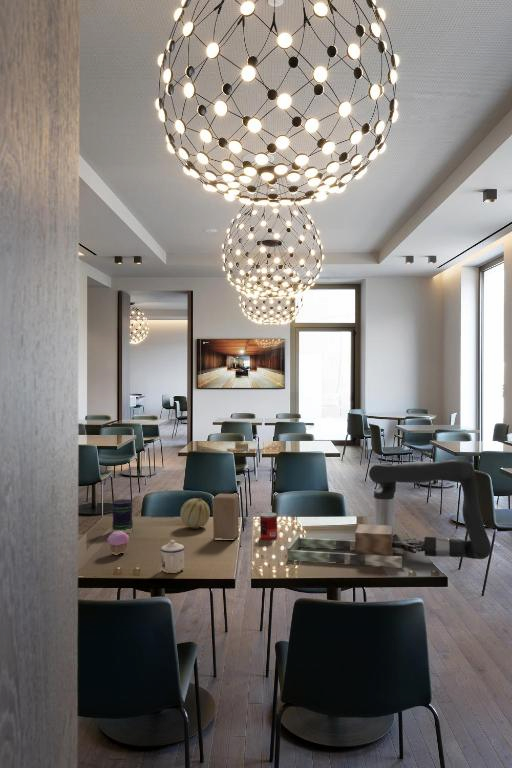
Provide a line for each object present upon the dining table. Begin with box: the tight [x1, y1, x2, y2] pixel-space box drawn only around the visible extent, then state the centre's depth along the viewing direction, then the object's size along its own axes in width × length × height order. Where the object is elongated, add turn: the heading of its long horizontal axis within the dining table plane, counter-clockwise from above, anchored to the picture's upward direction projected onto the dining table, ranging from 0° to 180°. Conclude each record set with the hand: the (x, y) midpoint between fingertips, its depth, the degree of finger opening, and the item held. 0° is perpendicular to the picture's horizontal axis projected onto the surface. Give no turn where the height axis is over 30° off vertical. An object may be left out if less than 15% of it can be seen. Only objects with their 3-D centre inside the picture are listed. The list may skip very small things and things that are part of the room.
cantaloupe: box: [180, 497, 211, 528], centre depth 299 cm, size 15×15×15 cm
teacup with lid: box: [160, 539, 185, 570], centre depth 232 cm, size 12×9×12 cm
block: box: [212, 493, 240, 540], centre depth 278 cm, size 10×10×20 cm
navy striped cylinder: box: [111, 499, 134, 530], centre depth 294 cm, size 10×10×15 cm
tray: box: [286, 534, 404, 569], centre depth 247 cm, size 45×20×5 cm, turn 75°
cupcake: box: [107, 531, 130, 553], centre depth 256 cm, size 9×9×10 cm
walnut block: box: [354, 523, 394, 556], centre depth 244 cm, size 14×14×12 cm
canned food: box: [259, 512, 278, 541], centre depth 278 cm, size 8×8×11 cm
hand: (392, 544), depth 242 cm, fingers closed
